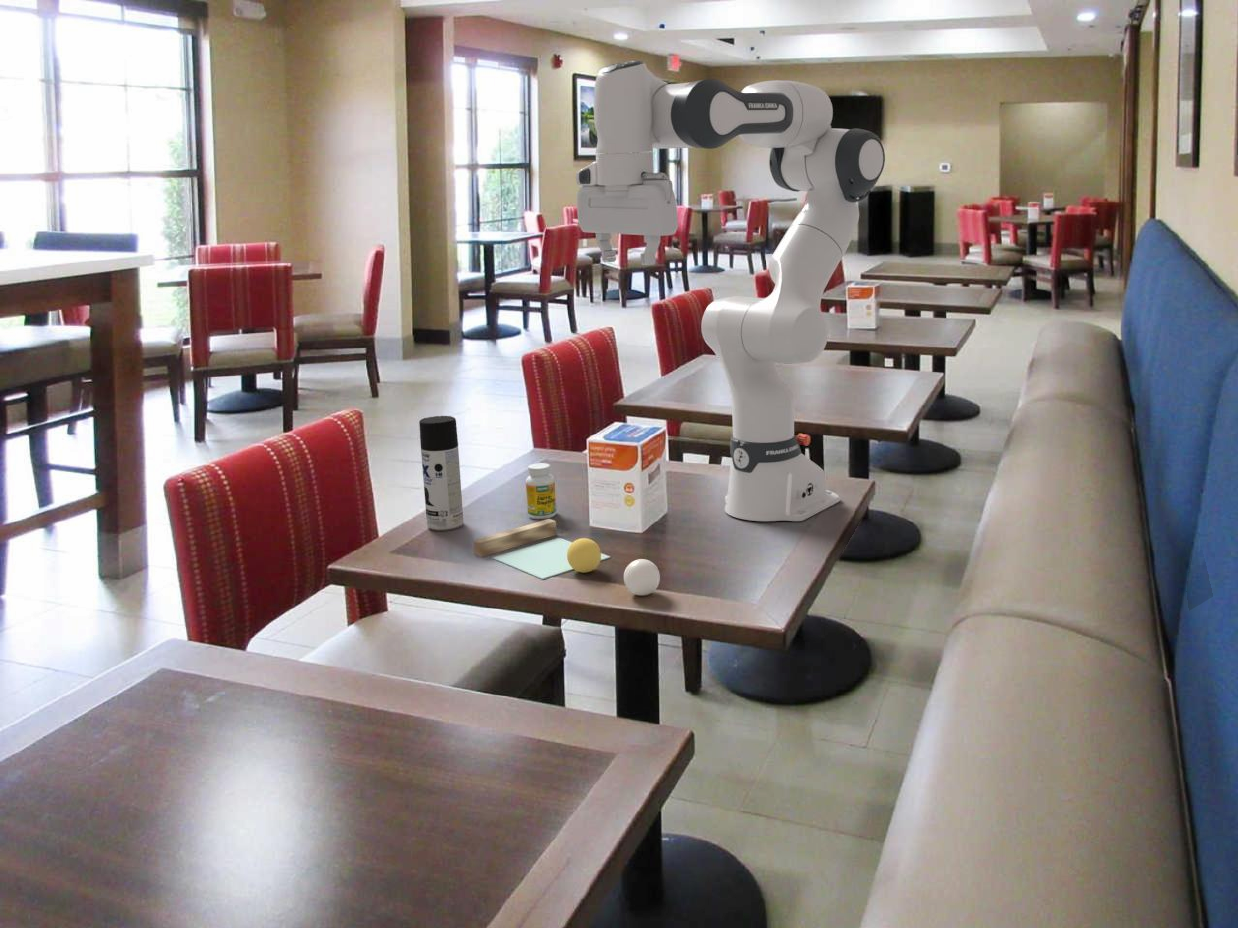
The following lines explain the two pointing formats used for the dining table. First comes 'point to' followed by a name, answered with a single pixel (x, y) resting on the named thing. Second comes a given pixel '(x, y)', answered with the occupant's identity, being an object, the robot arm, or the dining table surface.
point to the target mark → (541, 558)
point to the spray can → (441, 473)
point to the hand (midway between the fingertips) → (628, 263)
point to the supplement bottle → (540, 492)
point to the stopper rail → (514, 537)
